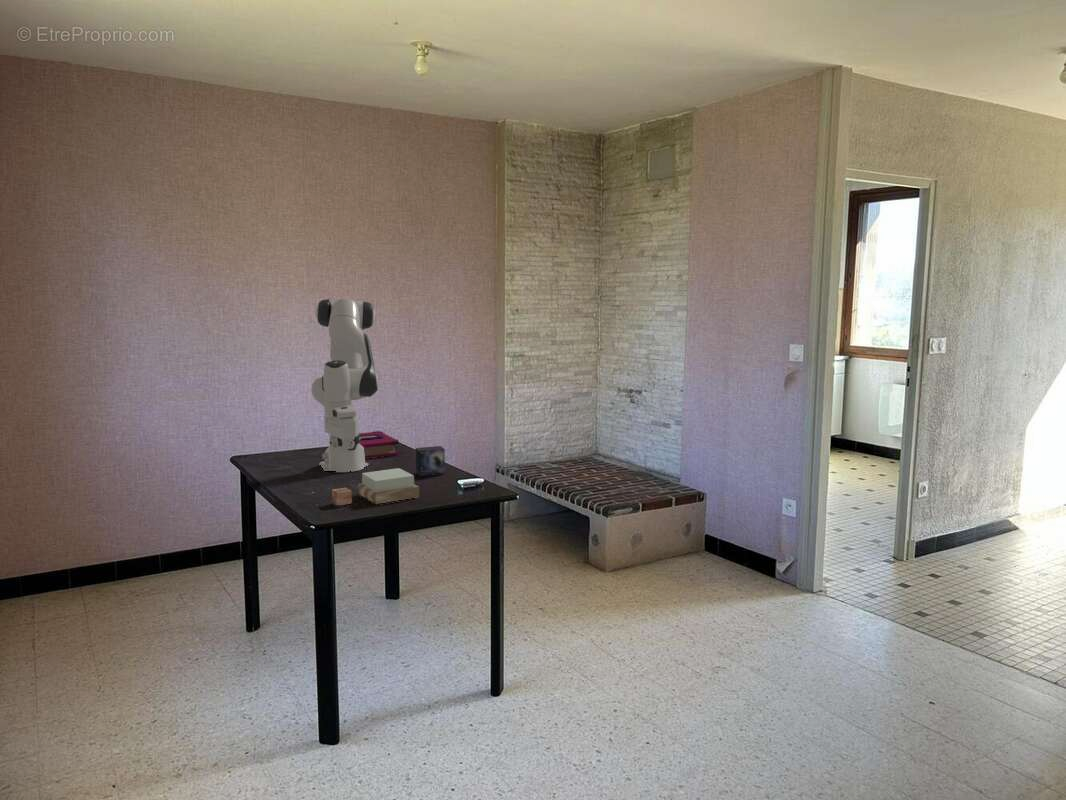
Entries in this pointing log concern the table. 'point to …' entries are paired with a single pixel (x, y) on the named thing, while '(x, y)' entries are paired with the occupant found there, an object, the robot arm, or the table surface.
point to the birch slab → (388, 494)
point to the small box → (430, 460)
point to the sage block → (388, 480)
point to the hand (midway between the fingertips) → (340, 449)
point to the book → (378, 444)
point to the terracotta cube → (342, 496)
